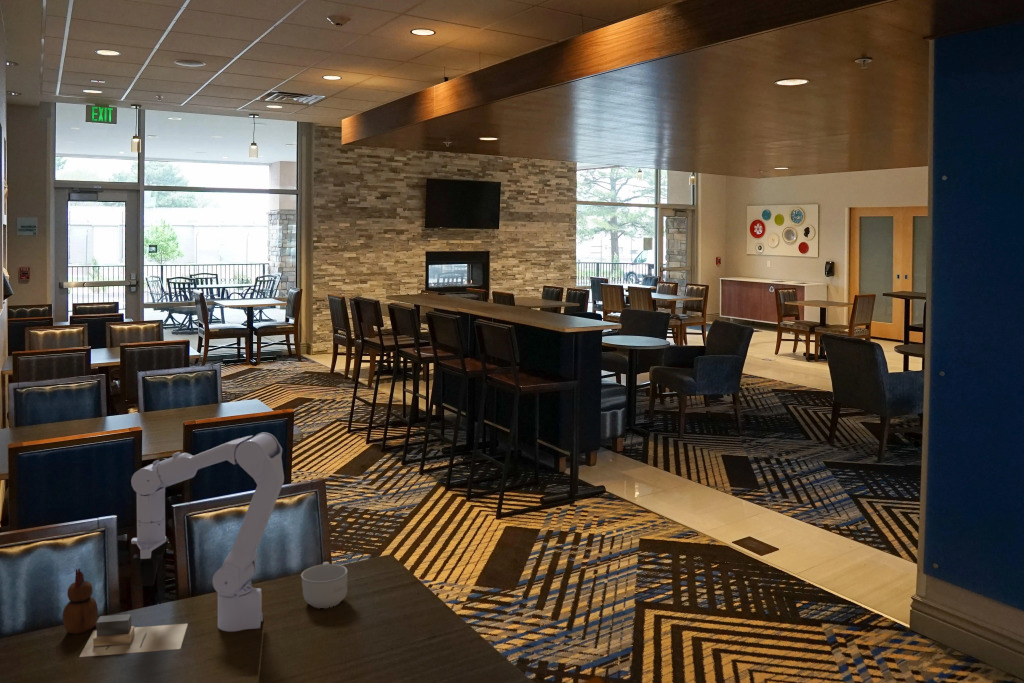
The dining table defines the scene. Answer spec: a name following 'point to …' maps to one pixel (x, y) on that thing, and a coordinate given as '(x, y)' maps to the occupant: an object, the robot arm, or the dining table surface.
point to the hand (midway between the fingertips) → (151, 578)
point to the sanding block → (113, 631)
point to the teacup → (324, 585)
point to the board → (142, 641)
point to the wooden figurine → (80, 606)
